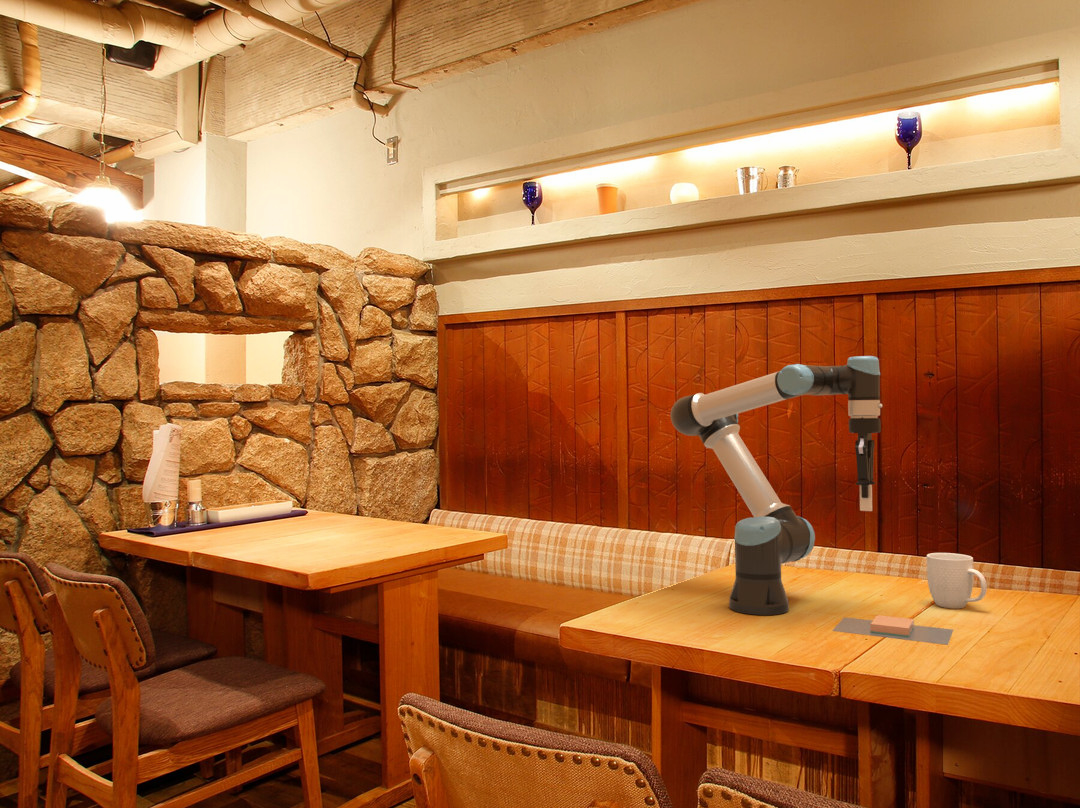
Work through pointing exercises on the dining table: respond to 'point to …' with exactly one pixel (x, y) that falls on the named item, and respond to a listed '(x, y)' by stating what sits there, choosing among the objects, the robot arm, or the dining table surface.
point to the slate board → (916, 635)
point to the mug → (952, 579)
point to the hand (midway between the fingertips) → (866, 510)
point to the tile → (892, 626)
